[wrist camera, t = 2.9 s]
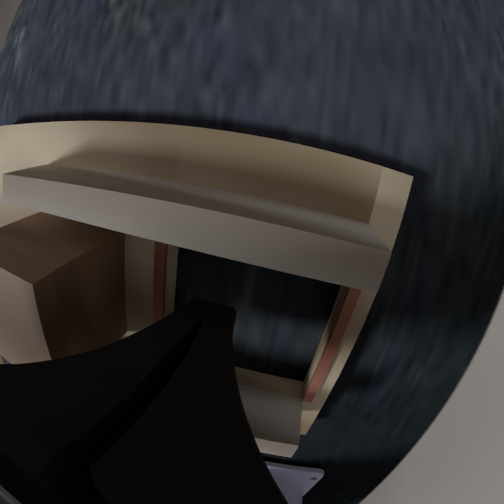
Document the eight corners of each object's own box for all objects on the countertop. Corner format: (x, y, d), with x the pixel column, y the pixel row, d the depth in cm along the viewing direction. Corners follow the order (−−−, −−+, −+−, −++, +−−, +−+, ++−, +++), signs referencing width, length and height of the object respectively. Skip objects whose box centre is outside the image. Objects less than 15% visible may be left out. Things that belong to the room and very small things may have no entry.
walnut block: (127, 331, 11) (66, 401, 7) (54, 299, 12) (-8, 348, 7) (125, 230, 10) (32, 284, 5) (45, 209, 10) (-37, 244, 6)
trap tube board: (306, 419, 13) (302, 476, 9) (27, 317, 14) (-7, 345, 11) (402, 173, 8) (451, 189, 5) (11, 125, 10) (-40, 131, 7)
